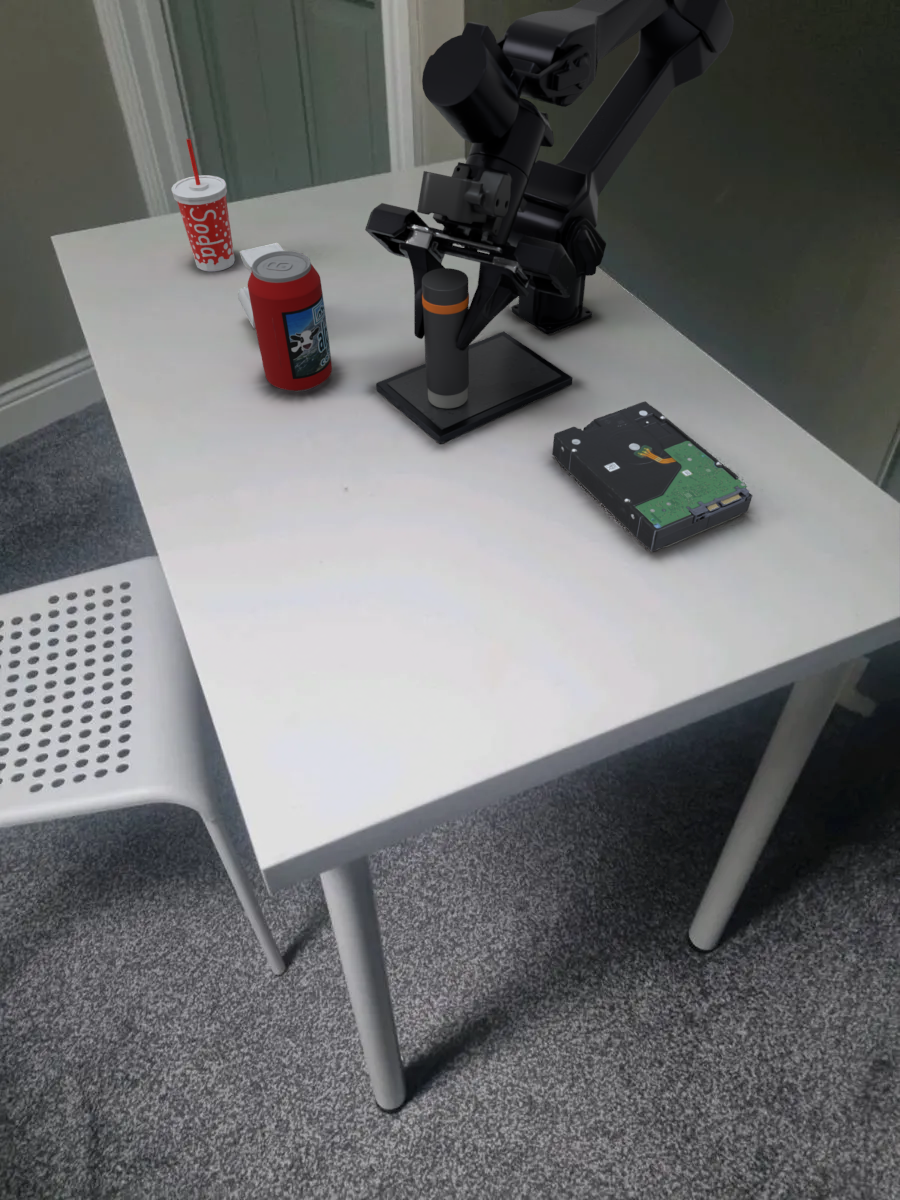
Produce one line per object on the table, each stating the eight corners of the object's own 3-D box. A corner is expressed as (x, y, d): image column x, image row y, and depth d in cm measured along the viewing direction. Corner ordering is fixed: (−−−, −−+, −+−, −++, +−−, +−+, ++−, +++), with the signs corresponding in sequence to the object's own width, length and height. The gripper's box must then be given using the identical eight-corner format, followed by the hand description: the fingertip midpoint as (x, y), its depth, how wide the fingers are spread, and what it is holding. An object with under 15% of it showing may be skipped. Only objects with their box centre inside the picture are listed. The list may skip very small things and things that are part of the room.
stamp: (321, 340, 95) (310, 264, 89) (260, 354, 93) (245, 278, 87) (296, 301, 101) (285, 227, 94) (238, 314, 99) (223, 240, 93)
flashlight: (462, 381, 87) (460, 264, 78) (474, 405, 85) (475, 286, 76) (421, 389, 87) (415, 271, 78) (433, 413, 84) (428, 294, 75)
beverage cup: (181, 272, 106) (150, 148, 96) (202, 248, 110) (174, 127, 100) (229, 276, 105) (203, 151, 95) (248, 252, 109) (225, 130, 99)
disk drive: (548, 459, 81) (652, 556, 72) (550, 434, 79) (657, 530, 70) (640, 424, 84) (750, 512, 75) (644, 398, 82) (758, 486, 73)
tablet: (503, 337, 95) (503, 330, 94) (572, 384, 88) (573, 376, 88) (376, 390, 88) (375, 382, 88) (440, 444, 82) (440, 436, 82)
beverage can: (322, 400, 87) (305, 285, 79) (256, 393, 88) (232, 279, 80) (341, 362, 92) (327, 249, 83) (279, 356, 93) (258, 244, 84)
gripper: (367, 104, 74) (307, 288, 76) (574, 143, 68) (504, 342, 69) (419, 168, 84) (366, 328, 86) (603, 207, 78) (542, 379, 80)
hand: (438, 343), depth 80 cm, fingers closed on flashlight, 4 cm apart
